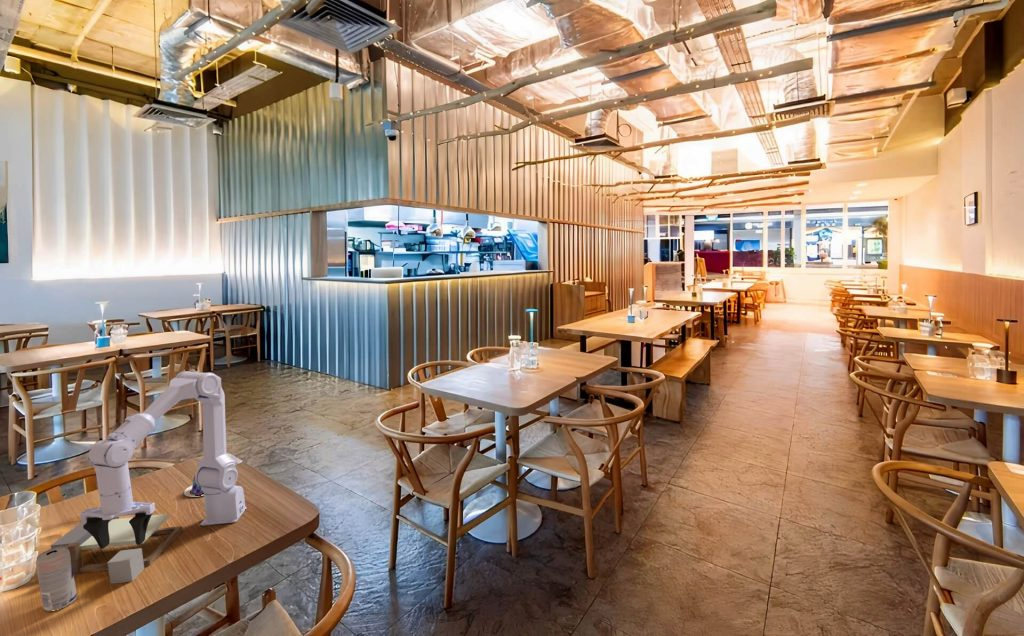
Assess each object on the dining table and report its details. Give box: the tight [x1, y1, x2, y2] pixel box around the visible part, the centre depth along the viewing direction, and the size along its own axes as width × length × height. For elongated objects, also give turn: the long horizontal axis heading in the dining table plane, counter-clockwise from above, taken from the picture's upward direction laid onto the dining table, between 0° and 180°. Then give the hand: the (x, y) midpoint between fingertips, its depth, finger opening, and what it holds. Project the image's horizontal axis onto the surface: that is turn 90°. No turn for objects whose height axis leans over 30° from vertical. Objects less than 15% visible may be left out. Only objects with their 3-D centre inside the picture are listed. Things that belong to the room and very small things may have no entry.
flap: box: [50, 513, 170, 551], centre depth 122 cm, size 20×12×2 cm, turn 99°
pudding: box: [183, 476, 204, 498], centre depth 155 cm, size 12×12×5 cm
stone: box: [107, 547, 145, 585], centre depth 113 cm, size 5×5×5 cm
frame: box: [66, 516, 183, 575], centre depth 122 cm, size 24×16×7 cm
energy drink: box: [35, 546, 78, 612], centre depth 104 cm, size 5×5×12 cm
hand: (123, 544), depth 112 cm, fingers open, 7 cm apart
